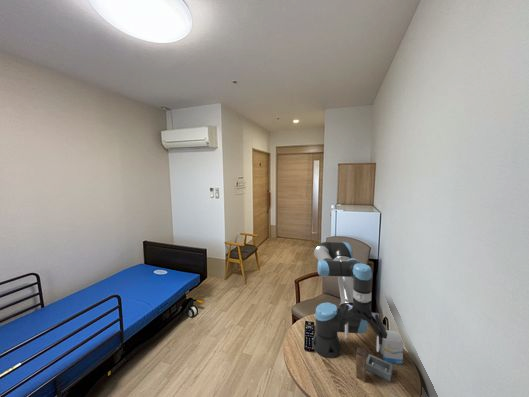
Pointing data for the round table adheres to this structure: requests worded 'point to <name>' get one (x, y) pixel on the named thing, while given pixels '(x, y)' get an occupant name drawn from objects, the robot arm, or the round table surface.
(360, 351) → the wooden beam
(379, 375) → the grey tray with pegs
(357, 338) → the round table surface
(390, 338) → the ink box
